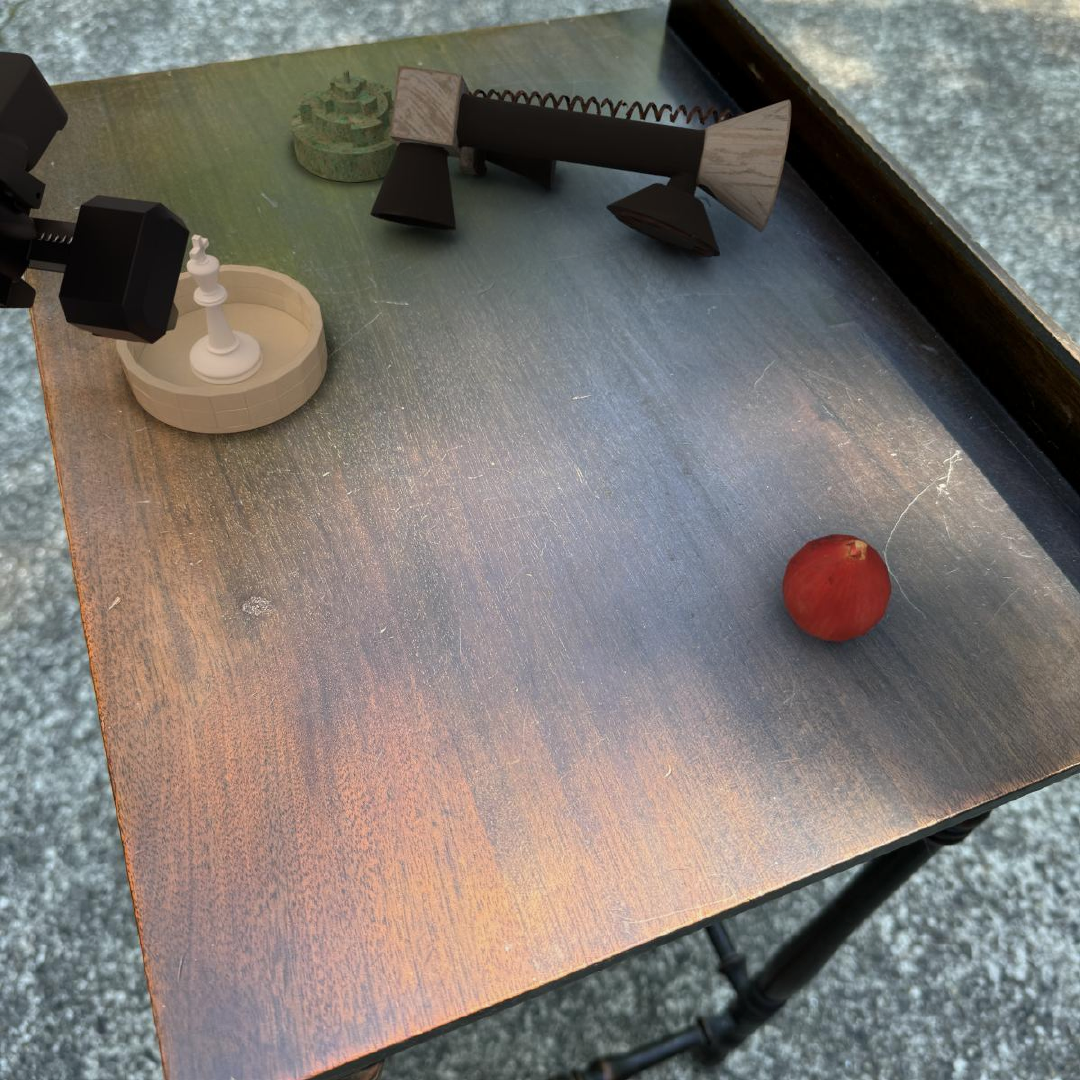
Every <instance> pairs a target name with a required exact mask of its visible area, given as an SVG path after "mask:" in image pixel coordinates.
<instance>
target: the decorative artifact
mask: <svg viewBox="0 0 1080 1080" xmlns="http://www.w3.org/2000/svg"><path fill="white" fill-rule="evenodd" d="M342 73H343V76H341V77H340V76H339V77H336V76H334V77H333V78H331V80H330V82H329V86H327V87H324V88H322V89H321V90H316V89H312V88H309V89H307V90H306V91H304V93H303V94H302V95H301V98H300V99H299V102H298V103H299V105H298V106H299V108H297V110H296V111H295V112H294V114H293V116H292V118H291V122H290V123H291V125H290V126H291V133H292V138H293V139H292V140H293V145H294V152H295V156H296V160H297V161H298V163H299V164H300V165H301V167H303V168H304V169H305V170H307V171H308V172H309V173H311V174H313V175H315V176H316V177H320V178H323V179H326V180H330V181H335V182H343V183H360V182H369V181H375V180H378V179H382V178H385V176H386V174H387V172H388V169H389V167H390V164H391V162H392V160H393V157H394V155H395V152H396V149H397V145H396V142H395V141H394V139H392V138H391V137H390V133H391V124H392V116H393V108H394V100H393V96H392V95H393V94H392V90H391V89H390V88H389V87H387V86H386V85H383V84H381V83H379V82H375V81H373V80H368V79H366V78H363V77H361V76H350V70H348V69H343V70H342Z"/></svg>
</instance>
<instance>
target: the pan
mask: <svg viewBox="0 0 1080 1080" xmlns="http://www.w3.org/2000/svg"><path fill="white" fill-rule="evenodd" d="M217 284H220V285H222V286H223V287H224V288H225V289H226V291H227V293H228V296H227V299H226V300H225V301H224V302H223V303H221V305H222V308H223V311H224V313H225V316H226V318H227V321H228V323H229V326H230V328H231V330H234V331H240V332H244V333H246V334H249V335H250V336H252V337H253V338H255V339H256V340H257V342H258V343H259V345H260V348H261V350H262V352H263V362H262V365H261V367H260V368H259V370H258V371H257V372H256V373H255V374H254V375H252V376H251V377H249V378H247V379H245V380H243V381H240V382H237V383H233V384H225V385H219V384H212V383H208V382H205V381H203V380H201V379H199V378H198V377H196V376H195V375H194V373H193V372H192V370H191V367H190V359H189V356H190V351H191V349H192V347H193V346H194V344H195V343H196V342H197V341H198V340H200V339H201V338H203V337H204V336H206V335H208V324H207V314H206V308H205V306H201V305H199V304H197V303H196V302H195V300H194V292H195V290H196V289H197V288H198V287H199V286H198V285H197V283H196V281H195V280H194V278H193V277H192V276H191V275H190V273H189V272H188V270H187V271H183V272H180V276H179V280H178V284H177V289H176V293H175V297H174V303H175V305H176V307H177V309H178V312H179V314H178V319H177V323H176V327H175V329H174V330H171V331H166V335H164V336H163V337H162V338H160V339H159V340H158V341H156V342H155V343H154V344H148V343H141V342H131V341H125V340H119V339H115V350H116V352H117V355H118V358H119V360H120V364H121V367H122V369H123V372H124V375H125V377H126V380H127V383H128V385H129V386H130V389H131V391H132V394H133V396H134V397H135V399H136V401H137V402H138V404H139V405H140V406H141V407H142V409H143V410H144V411H146V412H147V413H148V414H149V415H150V416H152V417H153V418H155V419H157V420H158V421H159V422H162V423H164V424H166V425H168V426H170V427H174V428H176V429H179V430H183V431H188V432H193V433H199V434H209V435H210V434H212V435H213V434H218V435H219V434H232V433H240V432H241V433H242V432H247V431H252V430H254V429H258V428H261V427H264V426H265V427H266V426H267V425H270V424H273V423H275V422H278V421H279V420H281V419H284V418H286V417H287V416H290V415H291V414H292V413H294V412H295V411H297V410H298V409H300V408H301V407H302V406H304V404H306V403H307V402H308V401H309V400H310V399H311V398H312V397H313V396H314V395H315V394H316V392H317V390H318V389H319V388H320V386H321V384H322V382H323V380H324V378H325V375H326V372H327V369H328V348H327V342H326V335H325V329H324V321H323V316H322V310H321V306H320V304H319V302H318V301H317V299H316V298H315V297H314V296H313V294H312V293H311V292H310V290H309V289H308V288H307V287H306V286H304V284H301V283H300V282H299V281H297V280H295V279H293V278H292V277H291V276H289V275H287V274H285V273H282V272H278V271H276V270H272V269H268V268H266V267H263V266H256V265H255V266H254V265H243V264H230V263H229V264H221V265H220V268H219V273H218V282H217Z"/></svg>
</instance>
